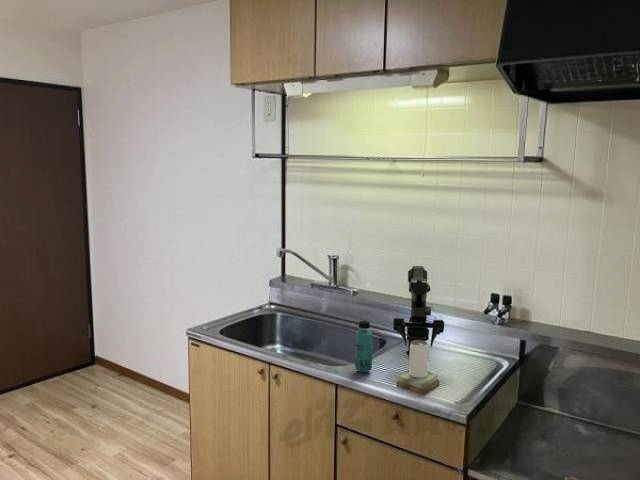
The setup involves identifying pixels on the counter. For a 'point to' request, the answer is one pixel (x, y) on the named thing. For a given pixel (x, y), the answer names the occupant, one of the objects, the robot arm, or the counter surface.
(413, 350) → the can
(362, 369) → the beverage bottle
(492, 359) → the counter surface
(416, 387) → the tower base
